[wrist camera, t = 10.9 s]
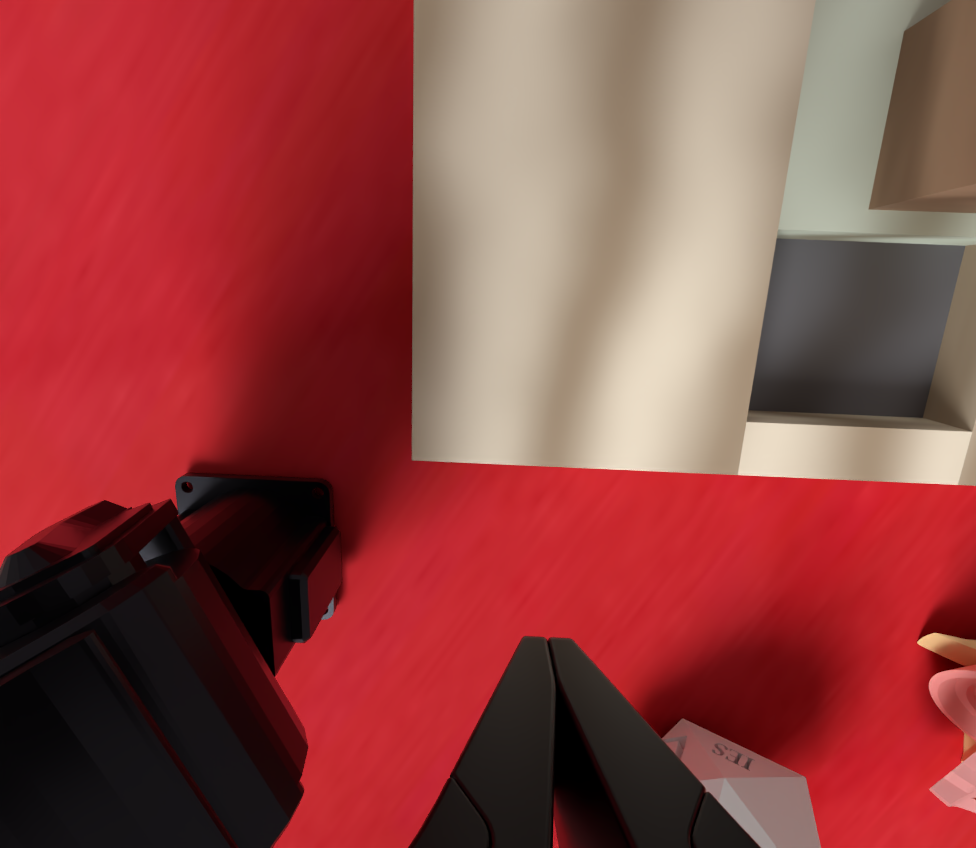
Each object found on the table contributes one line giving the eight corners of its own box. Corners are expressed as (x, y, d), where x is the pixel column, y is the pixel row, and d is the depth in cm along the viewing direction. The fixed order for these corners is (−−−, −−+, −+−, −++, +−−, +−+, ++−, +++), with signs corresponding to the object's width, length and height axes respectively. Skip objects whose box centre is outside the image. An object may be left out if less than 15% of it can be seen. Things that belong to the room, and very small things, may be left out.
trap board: (421, 441, 21) (395, 489, 16) (428, -313, 16) (391, -629, 10) (978, 466, 21) (1140, 523, 16) (1193, -294, 15) (1560, -607, 10)
